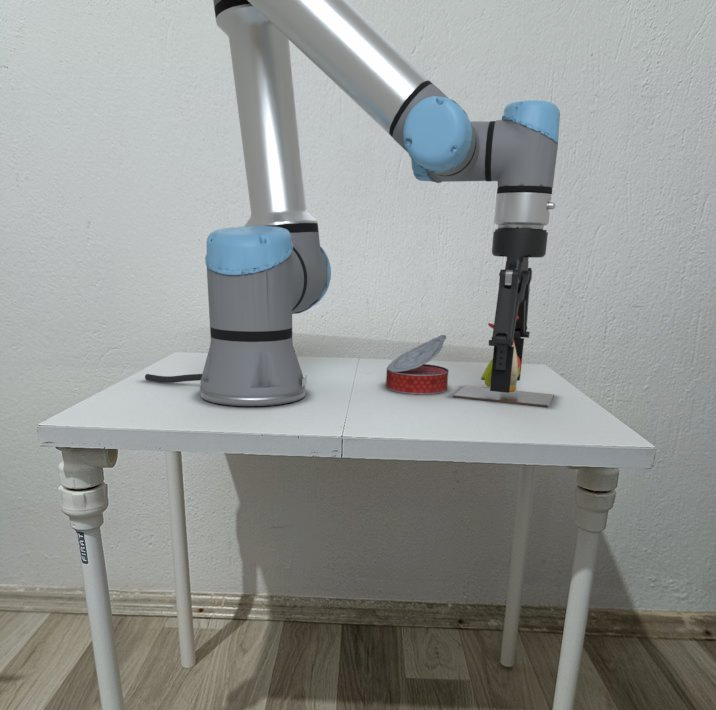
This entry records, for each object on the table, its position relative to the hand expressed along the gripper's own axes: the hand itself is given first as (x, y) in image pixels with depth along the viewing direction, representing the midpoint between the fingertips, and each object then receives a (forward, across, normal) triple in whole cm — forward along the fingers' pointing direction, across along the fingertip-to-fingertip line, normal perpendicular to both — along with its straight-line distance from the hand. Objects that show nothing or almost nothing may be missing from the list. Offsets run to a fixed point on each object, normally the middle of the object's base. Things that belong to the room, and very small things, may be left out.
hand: (505, 385), depth 101 cm
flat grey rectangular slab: (+2, 0, 0) cm, 2 cm away
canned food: (+2, 0, +14) cm, 14 cm away
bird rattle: (+1, 0, 0) cm, 1 cm away
